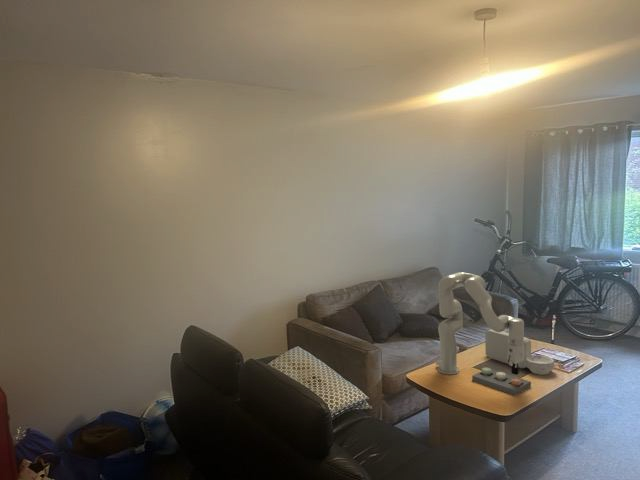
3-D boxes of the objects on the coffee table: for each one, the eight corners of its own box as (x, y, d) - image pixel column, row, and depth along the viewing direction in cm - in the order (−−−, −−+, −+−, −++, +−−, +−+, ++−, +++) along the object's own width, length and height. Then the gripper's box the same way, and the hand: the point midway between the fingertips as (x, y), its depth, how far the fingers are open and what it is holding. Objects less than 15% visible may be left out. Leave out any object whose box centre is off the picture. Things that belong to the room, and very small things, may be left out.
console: (472, 380, 262) (472, 375, 262) (488, 373, 271) (488, 368, 271) (515, 395, 241) (515, 390, 241) (530, 386, 251) (530, 381, 250)
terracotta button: (509, 384, 249) (509, 380, 249) (514, 382, 252) (514, 377, 252) (517, 387, 245) (517, 383, 245) (522, 384, 248) (522, 380, 248)
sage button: (480, 373, 264) (480, 369, 263) (485, 370, 267) (485, 366, 266) (487, 375, 260) (487, 371, 259) (492, 373, 263) (492, 369, 262)
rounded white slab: (533, 366, 278) (533, 337, 276) (525, 369, 274) (526, 340, 272) (492, 353, 302) (492, 327, 300) (485, 356, 298) (485, 329, 296)
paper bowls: (538, 365, 280) (538, 352, 279) (559, 373, 266) (560, 360, 265) (519, 369, 274) (519, 357, 273) (540, 379, 260) (540, 365, 259)
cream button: (494, 377, 256) (494, 373, 256) (499, 375, 259) (499, 371, 259) (502, 380, 252) (502, 376, 252) (507, 378, 255) (507, 373, 255)
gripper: (515, 346, 239) (514, 379, 241) (529, 339, 248) (528, 372, 250) (501, 342, 245) (500, 375, 247) (516, 336, 254) (515, 368, 256)
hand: (514, 373), depth 249 cm, fingers closed
